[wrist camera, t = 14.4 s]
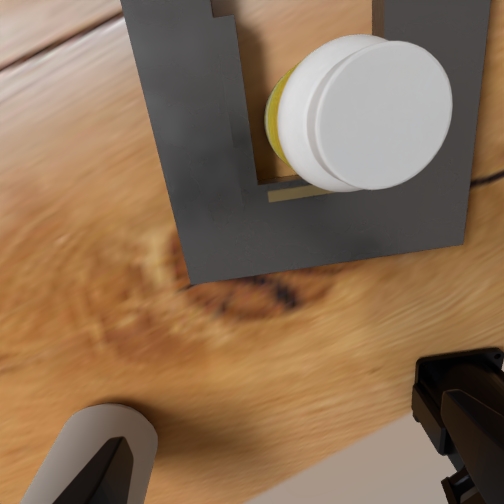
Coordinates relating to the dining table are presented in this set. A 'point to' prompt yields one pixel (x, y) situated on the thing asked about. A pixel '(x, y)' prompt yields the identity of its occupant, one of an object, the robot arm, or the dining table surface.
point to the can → (95, 451)
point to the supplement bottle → (360, 113)
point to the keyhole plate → (294, 187)
